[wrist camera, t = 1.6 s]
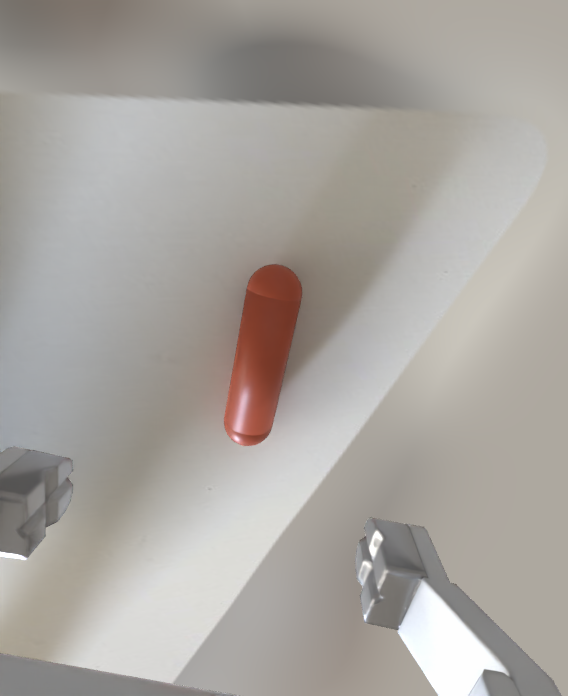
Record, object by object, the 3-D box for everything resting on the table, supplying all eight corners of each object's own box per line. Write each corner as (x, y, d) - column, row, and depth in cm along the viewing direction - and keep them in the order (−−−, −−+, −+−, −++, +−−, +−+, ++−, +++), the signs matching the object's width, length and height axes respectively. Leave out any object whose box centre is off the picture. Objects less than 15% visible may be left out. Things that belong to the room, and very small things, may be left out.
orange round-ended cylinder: (255, 256, 19) (248, 261, 16) (307, 267, 19) (308, 275, 16) (225, 423, 22) (216, 450, 19) (269, 432, 22) (265, 460, 19)
